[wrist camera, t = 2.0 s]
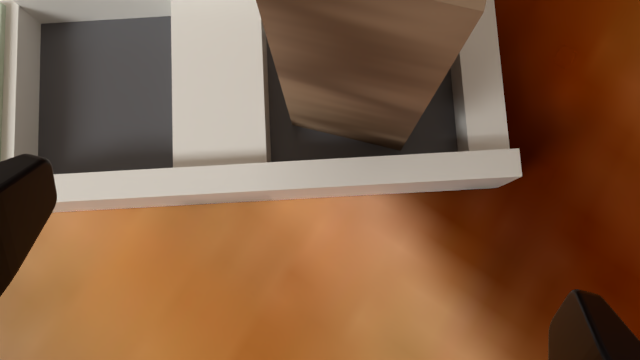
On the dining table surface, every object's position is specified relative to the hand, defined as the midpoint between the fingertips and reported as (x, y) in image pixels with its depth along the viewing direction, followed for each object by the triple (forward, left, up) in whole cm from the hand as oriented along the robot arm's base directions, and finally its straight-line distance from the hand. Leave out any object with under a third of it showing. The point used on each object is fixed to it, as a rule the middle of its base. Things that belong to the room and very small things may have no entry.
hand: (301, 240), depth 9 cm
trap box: (+9, 0, -13) cm, 16 cm away
